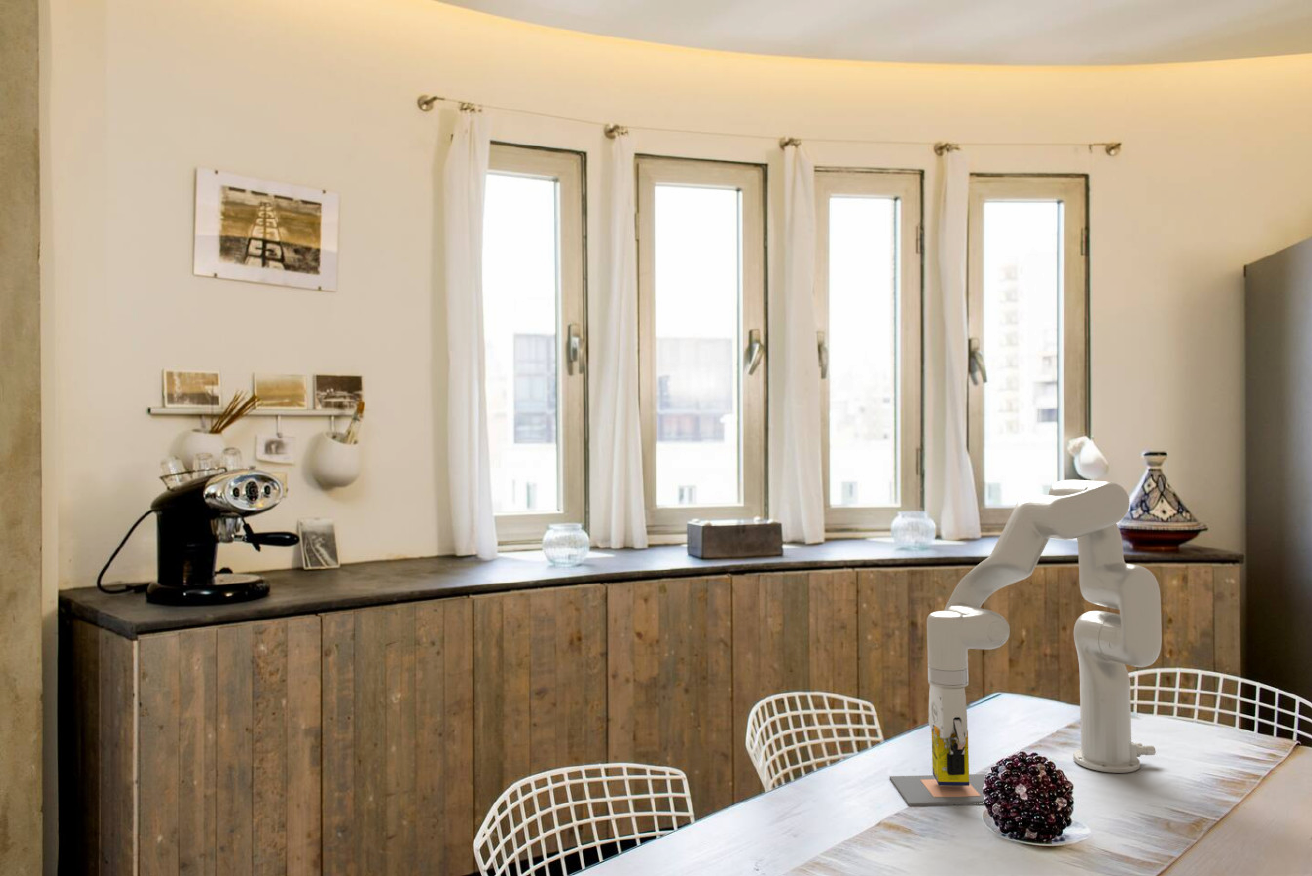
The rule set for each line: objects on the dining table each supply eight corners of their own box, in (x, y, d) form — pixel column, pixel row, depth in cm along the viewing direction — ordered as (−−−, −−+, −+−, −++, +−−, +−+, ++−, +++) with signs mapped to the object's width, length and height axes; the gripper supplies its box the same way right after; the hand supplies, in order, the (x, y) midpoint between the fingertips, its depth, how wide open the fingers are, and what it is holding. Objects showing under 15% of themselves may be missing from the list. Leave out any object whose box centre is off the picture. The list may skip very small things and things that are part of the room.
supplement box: (931, 775, 186) (930, 719, 186) (962, 775, 186) (961, 720, 186) (937, 786, 180) (936, 729, 180) (969, 786, 180) (968, 729, 180)
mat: (988, 776, 190) (987, 773, 190) (1015, 803, 176) (1014, 800, 176) (889, 778, 190) (889, 775, 190) (908, 805, 176) (908, 802, 176)
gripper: (916, 665, 191) (918, 753, 191) (942, 688, 174) (944, 784, 174) (952, 664, 192) (954, 752, 192) (982, 687, 174) (985, 783, 174)
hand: (950, 767), depth 183 cm, fingers closed on supplement box, 6 cm apart
